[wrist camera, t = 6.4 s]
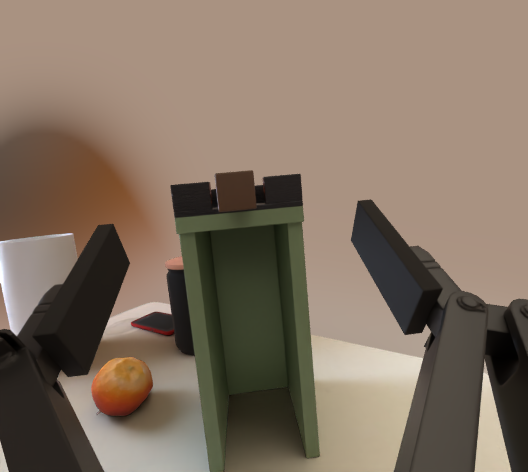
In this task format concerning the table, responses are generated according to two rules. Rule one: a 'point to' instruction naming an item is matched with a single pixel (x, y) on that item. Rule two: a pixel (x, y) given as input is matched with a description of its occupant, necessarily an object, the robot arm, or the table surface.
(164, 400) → the table surface
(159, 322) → the cell phone
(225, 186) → the brown orange rod
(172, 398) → the table surface
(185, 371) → the table surface
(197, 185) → the black rectangular open tray
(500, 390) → the robot arm
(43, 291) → the cylinder vase
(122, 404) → the fruit
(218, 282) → the shelf stand
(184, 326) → the coffee jar
